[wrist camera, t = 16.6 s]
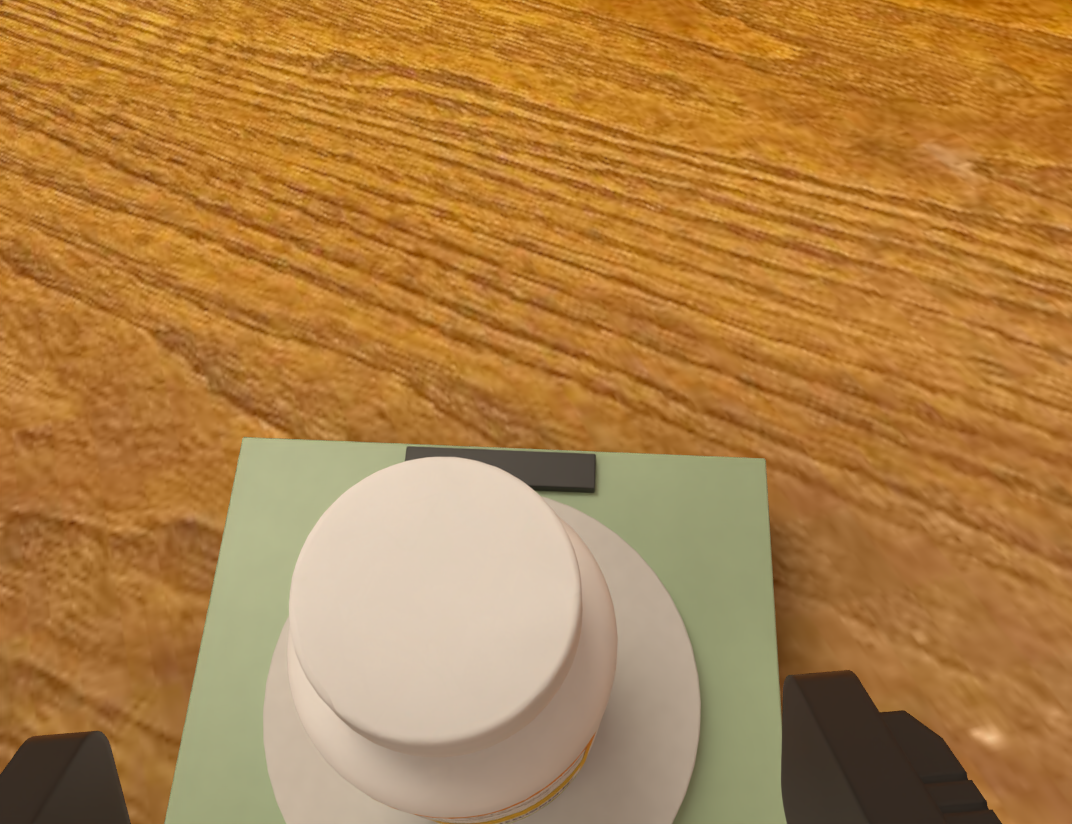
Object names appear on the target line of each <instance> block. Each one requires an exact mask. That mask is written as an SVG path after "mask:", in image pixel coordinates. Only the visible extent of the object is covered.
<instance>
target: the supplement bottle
mask: <svg viewBox="0 0 1072 824" xmlns="http://www.w3.org/2000/svg"><path fill="white" fill-rule="evenodd" d="M289 622H290V625H289V631H288V645H287V668H288V677H289V684H290V689H291V694H292V697H293V701H294V705H295V708H296V710H297V713H298V715H299V718H300V720H301V722H302V725H303V727H304V729H305V731H306V733H307V734H308V736H309V738H310V739H311V741H312V743H313V744H314V746H315V747H316V748H317V750H318V751H319V752H320V754H321V755H322V756H323V758H324V759H325V761H326V762H327V763H328V764H329V765H330V766H331V767H332V768H333V769H334V770H335V771H336V772H337V773H338V774H339V775H340V776H341V777H342V778H344V779H345V780H346V781H348V782H349V783H350V784H352V785H353V786H355V787H356V788H357V789H359V790H360V791H362V792H363V793H365V794H366V795H368V796H369V797H371V798H372V799H374V800H376V801H378V802H380V803H382V804H385V805H387V806H389V807H392V808H394V809H397V810H400V811H403V812H407V813H411V814H414V815H417V816H419V817H422V818H426V819H429V820H432V821H435V822H438V823H441V824H509V823H513V822H516V821H518V820H521V819H523V818H526V817H528V816H530V815H532V814H534V813H535V812H537V811H539V810H540V809H542V808H544V807H545V806H547V805H548V804H549V803H551V802H552V801H553V800H554V799H555V798H557V797H558V796H559V795H560V794H561V793H562V792H563V791H564V790H565V789H566V788H567V787H568V786H569V784H570V783H571V782H572V781H573V780H574V778H575V777H576V775H577V774H578V772H579V771H580V769H581V768H582V766H583V764H584V763H585V761H586V759H587V756H588V754H589V752H590V749H591V747H592V745H593V742H594V740H595V737H596V734H597V731H598V728H599V725H600V722H601V719H602V717H603V714H604V712H605V709H606V707H607V704H608V700H609V697H610V694H611V690H612V685H613V681H614V676H615V670H616V663H617V647H618V636H617V625H616V618H615V612H614V606H613V602H612V599H611V595H610V592H609V588H608V585H607V583H606V580H605V578H604V575H603V573H602V571H601V569H600V567H599V565H598V563H597V562H596V560H595V558H594V556H593V555H592V553H591V552H590V550H589V548H588V547H587V546H586V544H585V543H584V542H583V540H582V539H581V538H580V537H579V536H578V534H577V533H576V532H575V531H574V530H573V528H572V527H570V526H569V525H568V524H567V523H566V522H565V521H564V520H562V519H561V518H560V517H559V516H557V515H556V513H555V512H554V510H553V509H552V508H551V507H550V506H549V505H548V504H547V503H546V502H545V501H544V500H543V498H542V497H541V496H540V495H539V494H538V493H537V492H536V491H534V490H533V489H532V488H531V487H529V486H528V485H527V484H526V483H524V482H523V481H521V480H520V479H518V478H516V477H515V476H513V475H511V474H509V473H508V472H506V471H504V470H502V469H500V468H497V467H495V466H492V465H488V464H486V463H482V462H479V461H475V460H470V459H465V458H458V457H426V458H420V459H414V460H409V461H405V462H402V463H398V464H395V465H392V466H389V467H387V468H384V469H382V470H379V471H377V472H375V473H373V474H371V475H370V476H368V477H366V478H364V479H363V480H361V481H360V482H358V483H357V484H355V485H354V486H352V487H351V488H349V489H348V490H347V491H346V492H344V493H343V494H342V495H341V496H340V497H339V498H338V499H337V500H336V501H335V502H334V503H333V504H332V505H331V506H330V507H329V508H328V509H327V510H326V511H325V512H324V513H323V515H322V516H321V517H320V519H319V520H318V522H317V523H316V525H315V526H314V528H313V529H312V530H311V532H310V533H309V535H308V537H307V539H306V541H305V543H304V545H303V547H302V549H301V551H300V554H299V557H298V559H297V562H296V565H295V569H294V572H293V575H292V581H291V587H290V596H289Z"/></svg>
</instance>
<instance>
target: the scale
mask: <svg viewBox="0 0 1072 824" xmlns="http://www.w3.org/2000/svg"><path fill="white" fill-rule="evenodd" d="M426 457H458V458H465V459H470V460H475V461H479V462H482V463H486V464H488V465H492V466H495V467H497V468H500V469H502V470H504V471H506V472H508V473H509V474H511V475H513V476H515V477H516V478H518V479H520V480H521V481H523V482H524V483H526V484H527V485H528V486H529V487H531V488H532V489H533V490H534V491H536V492H537V493H538V494H539V495H540V496H541V497H542V498H543V500H544V501H545V502H546V503H547V504H548V505H549V506H550V507H551V508H552V509H553V510H554V512H555V513H556V515H557V516H559V517H560V518H561V519H562V520H564V521H565V522H566V523H567V524H568V525H569V526H570V527H572V528H573V530H574V531H575V532H576V533H577V534H578V536H579V537H580V538H581V539H582V540H583V542H584V543H585V544H586V546H587V547H588V548H589V550H590V552H591V553H592V555H593V556H594V558H595V560H596V562H597V563H598V565H599V567H600V569H601V571H602V573H603V575H604V578H605V580H606V583H607V585H608V588H609V592H610V595H611V599H612V602H613V606H614V612H615V618H616V625H617V636H618V647H617V663H616V670H615V676H614V681H613V685H612V690H611V694H610V697H609V700H608V704H607V707H606V709H605V712H604V714H603V717H602V719H601V722H600V725H599V728H598V731H597V734H596V737H595V740H594V742H593V745H592V747H591V749H590V752H589V754H588V756H587V759H586V761H585V763H584V764H583V766H582V768H581V769H580V771H579V772H578V774H577V775H576V777H575V778H574V780H573V781H572V782H571V783H570V784H569V786H568V787H567V788H566V789H565V790H564V791H563V792H562V793H561V794H560V795H559V796H558V797H557V798H555V799H554V800H553V801H552V802H551V803H549V804H548V805H547V806H545V807H544V808H542V809H540V810H539V811H537V812H535V813H534V814H532V815H530V816H528V817H526V818H523V819H521V820H518V821H516V822H513V823H509V824H787V822H786V817H785V813H784V807H783V800H782V792H781V754H782V716H781V699H780V683H779V667H778V651H777V635H776V619H775V602H774V586H773V570H772V554H771V538H770V522H769V505H768V489H767V473H766V460H765V459H763V458H738V457H714V456H690V455H665V454H641V453H617V452H593V451H568V450H544V449H520V448H495V447H471V446H447V445H422V444H398V443H374V442H349V441H325V440H301V439H276V438H252V437H243V440H242V445H241V449H240V454H239V459H238V464H237V469H236V474H235V479H234V484H233V489H232V494H231V499H230V504H229V508H228V513H227V518H226V523H225V528H224V533H223V538H222V543H221V548H220V553H219V558H218V562H217V567H216V572H215V577H214V582H213V587H212V592H211V597H210V602H209V607H208V612H207V617H206V621H205V626H204V631H203V636H202V641H201V646H200V651H199V656H198V661H197V666H196V671H195V675H194V680H193V685H192V690H191V695H190V700H189V705H188V710H187V715H186V720H185V725H184V729H183V734H182V739H181V744H180V749H179V754H178V759H177V764H176V769H175V774H174V779H173V784H172V788H171V793H170V798H169V803H168V808H167V813H166V818H165V823H164V824H441V823H438V822H435V821H432V820H429V819H426V818H422V817H419V816H417V815H414V814H411V813H407V812H403V811H400V810H397V809H394V808H392V807H389V806H387V805H385V804H382V803H380V802H378V801H376V800H374V799H372V798H371V797H369V796H368V795H366V794H365V793H363V792H362V791H360V790H359V789H357V788H356V787H355V786H353V785H352V784H350V783H349V782H348V781H346V780H345V779H344V778H342V777H341V776H340V775H339V774H338V773H337V772H336V771H335V770H334V769H333V768H332V767H331V766H330V765H329V764H328V763H327V762H326V761H325V759H324V758H323V756H322V755H321V754H320V752H319V751H318V750H317V748H316V747H315V746H314V744H313V743H312V741H311V739H310V738H309V736H308V734H307V733H306V731H305V729H304V727H303V725H302V722H301V720H300V718H299V715H298V713H297V710H296V708H295V705H294V701H293V697H292V694H291V689H290V684H289V677H288V668H287V645H288V631H289V625H290V622H289V596H290V587H291V581H292V575H293V572H294V569H295V565H296V562H297V559H298V557H299V554H300V551H301V549H302V547H303V545H304V543H305V541H306V539H307V537H308V535H309V533H310V532H311V530H312V529H313V528H314V526H315V525H316V523H317V522H318V520H319V519H320V517H321V516H322V515H323V513H324V512H325V511H326V510H327V509H328V508H329V507H330V506H331V505H332V504H333V503H334V502H335V501H336V500H337V499H338V498H339V497H340V496H341V495H342V494H343V493H344V492H346V491H347V490H348V489H349V488H351V487H352V486H354V485H355V484H357V483H358V482H360V481H361V480H363V479H364V478H366V477H368V476H370V475H371V474H373V473H375V472H377V471H379V470H382V469H384V468H387V467H389V466H392V465H395V464H398V463H402V462H405V461H409V460H414V459H420V458H426Z"/></svg>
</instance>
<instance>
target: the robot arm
mask: <svg viewBox="0 0 1072 824" xmlns="http://www.w3.org/2000/svg"><path fill="white" fill-rule="evenodd" d="M781 792H782V800H783V807H784V813H785V817H786V822H787V824H1002V823H1001V822H1000V820H999V819H998V817H997V816H996V814H995V813H994V812H993V810H989V809H988V807H987V801H986V800H985V799H984V797H983V796H982V794H981V793H980V791H979V790H978V789H977V787H976V786H975V784H974V783H973V781H972V780H968V778H967V773H966V771H965V770H964V768H963V767H962V766H961V764H960V763H959V761H958V760H957V758H956V757H955V756H954V754H953V753H952V751H951V750H950V748H949V747H948V745H947V744H946V743H945V741H944V740H943V738H941V737H940V736H939V735H937V734H936V733H934V732H933V731H932V730H930V729H929V728H928V727H926V726H925V725H923V724H922V723H921V722H919V721H918V720H917V719H915V718H914V717H913V716H911V715H910V714H908V713H907V712H906V711H892V712H880V713H879V711H878V709H877V708H876V706H875V705H874V703H873V701H872V700H871V698H870V697H869V695H868V693H867V692H866V690H865V689H864V687H863V685H862V684H861V682H860V680H859V679H858V677H857V676H856V675H855V674H854V673H853V672H852V671H850V670H844V671H833V672H821V673H809V674H797V675H788V676H787V677H786V679H785V681H784V687H783V713H782V754H781ZM0 824H131V823H130V819H129V815H128V811H127V807H126V804H125V800H124V796H123V792H122V788H121V784H120V781H119V777H118V773H117V769H116V765H115V761H114V758H113V754H112V750H111V747H110V744H109V741H108V739H107V737H106V736H105V735H104V734H103V733H102V732H100V731H91V732H79V733H67V734H55V735H43V736H33V737H31V738H29V739H27V740H26V741H25V742H24V743H23V744H22V745H21V747H20V748H19V749H18V751H17V752H16V754H15V755H14V756H13V758H12V759H11V761H10V762H9V763H8V765H7V766H6V768H5V769H4V770H3V772H2V773H1V774H0Z"/></svg>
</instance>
